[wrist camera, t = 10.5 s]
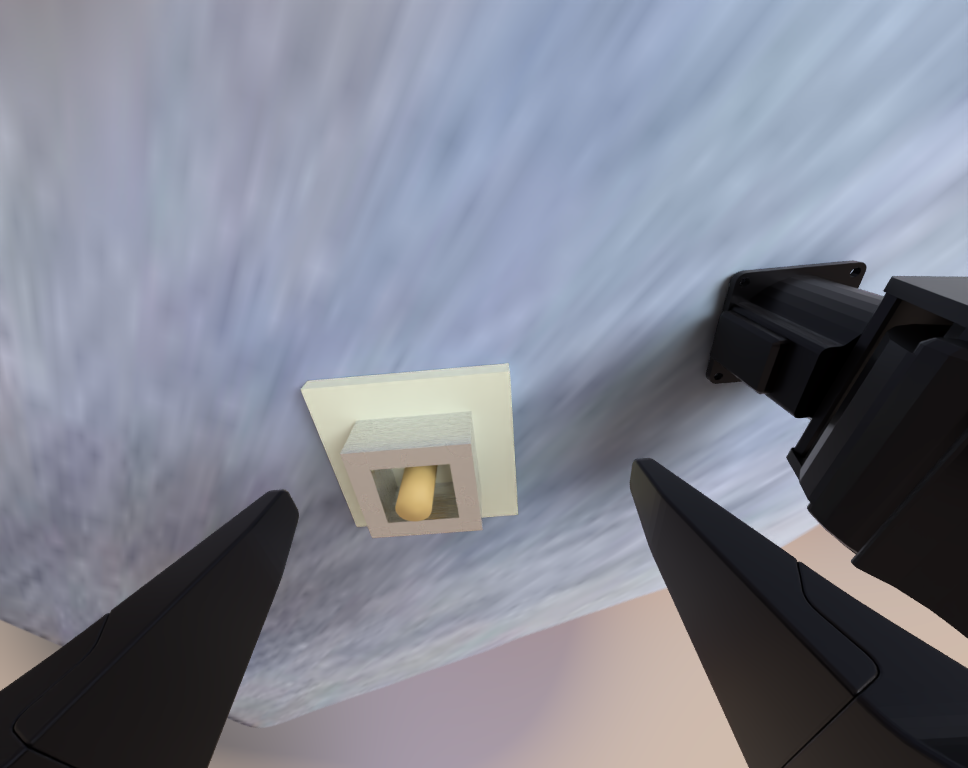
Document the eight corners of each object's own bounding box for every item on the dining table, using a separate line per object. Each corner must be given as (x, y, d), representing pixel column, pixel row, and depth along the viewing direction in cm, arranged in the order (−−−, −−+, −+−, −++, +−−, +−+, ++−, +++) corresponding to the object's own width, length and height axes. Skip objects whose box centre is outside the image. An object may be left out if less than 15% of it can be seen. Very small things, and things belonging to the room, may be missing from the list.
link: (471, 411, 21) (470, 443, 19) (481, 493, 25) (482, 530, 22) (356, 420, 22) (340, 454, 19) (382, 500, 25) (372, 538, 22)
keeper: (508, 363, 21) (516, 412, 17) (516, 503, 27) (524, 566, 23) (307, 380, 21) (264, 433, 17) (360, 515, 27) (338, 579, 23)
